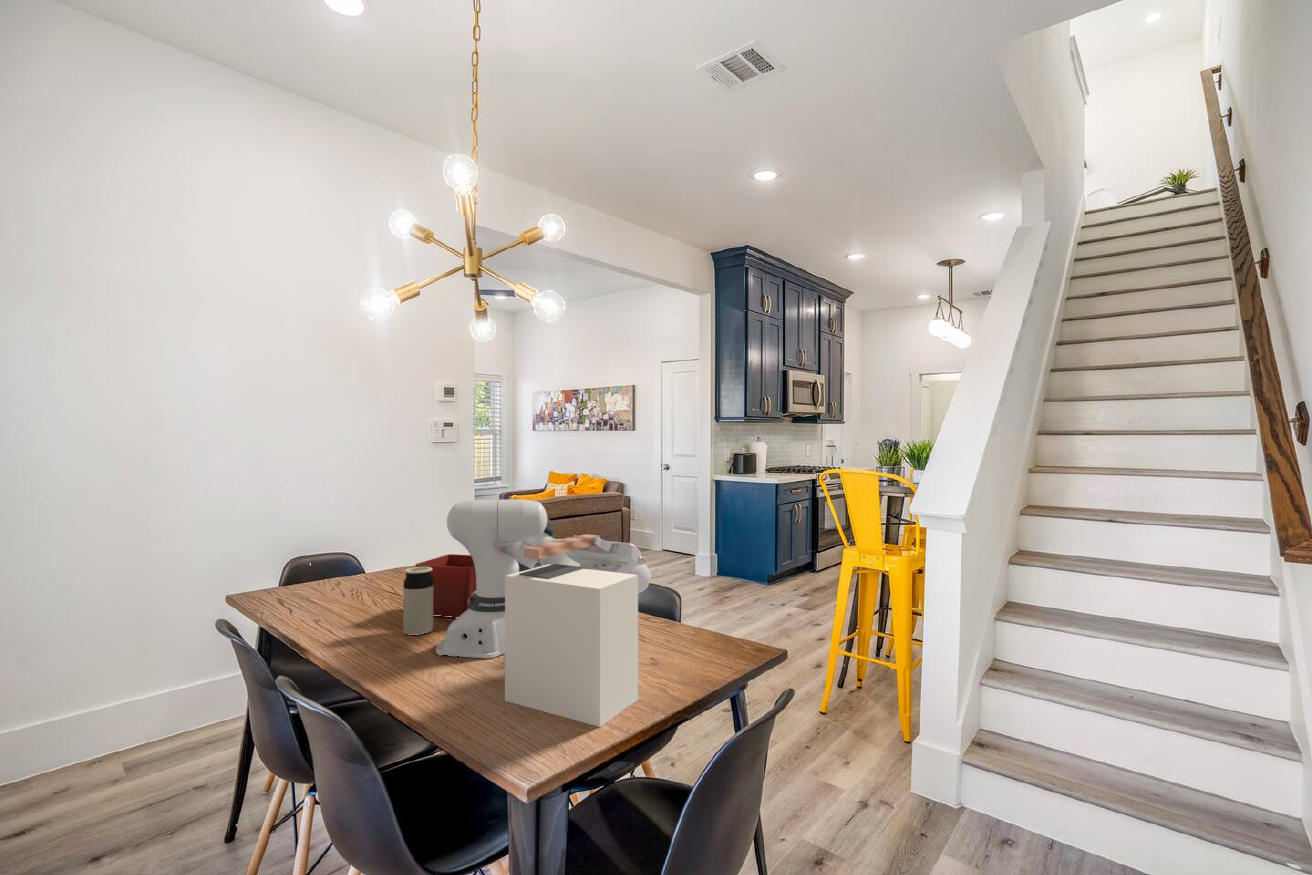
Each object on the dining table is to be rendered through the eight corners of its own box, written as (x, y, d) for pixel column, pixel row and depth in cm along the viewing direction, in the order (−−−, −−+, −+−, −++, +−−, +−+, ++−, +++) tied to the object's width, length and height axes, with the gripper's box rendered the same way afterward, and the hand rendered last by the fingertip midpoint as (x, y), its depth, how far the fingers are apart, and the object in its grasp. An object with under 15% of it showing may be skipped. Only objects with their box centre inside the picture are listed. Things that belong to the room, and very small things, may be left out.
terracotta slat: (586, 542, 143) (586, 534, 143) (600, 543, 141) (600, 535, 141) (523, 557, 124) (523, 547, 124) (538, 559, 122) (538, 549, 122)
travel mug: (438, 628, 174) (438, 566, 175) (424, 636, 166) (425, 572, 167) (412, 627, 175) (412, 566, 175) (397, 636, 167) (398, 571, 167)
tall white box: (548, 678, 136) (548, 562, 137) (638, 699, 125) (637, 573, 125) (505, 700, 124) (505, 574, 125) (600, 726, 112) (599, 587, 113)
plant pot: (499, 606, 198) (499, 555, 198) (469, 623, 179) (469, 567, 180) (448, 603, 202) (448, 553, 203) (413, 619, 184) (413, 564, 184)
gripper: (645, 576, 143) (618, 555, 133) (577, 568, 153) (546, 548, 143) (652, 551, 146) (626, 529, 135) (584, 545, 156) (555, 523, 145)
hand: (584, 539), depth 139 cm, fingers closed on terracotta slat, 4 cm apart
